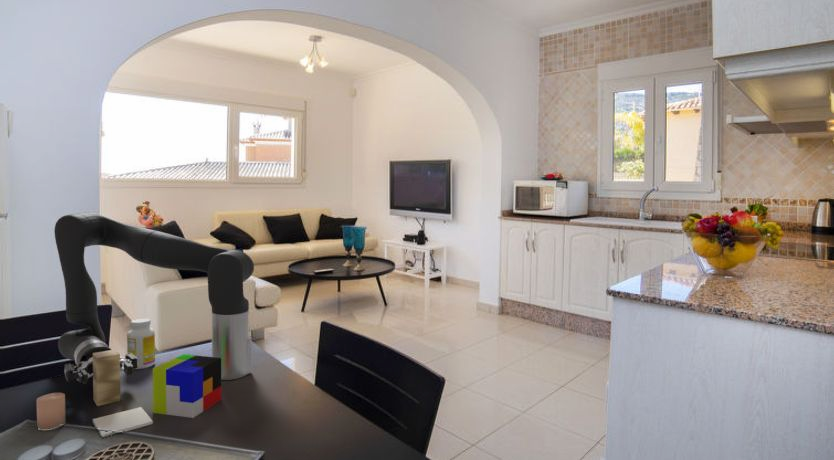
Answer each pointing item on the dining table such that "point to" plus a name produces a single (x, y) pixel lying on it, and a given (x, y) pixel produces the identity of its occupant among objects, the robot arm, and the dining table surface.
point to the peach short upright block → (50, 410)
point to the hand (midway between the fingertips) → (108, 374)
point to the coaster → (123, 421)
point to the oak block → (106, 377)
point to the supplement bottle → (142, 342)
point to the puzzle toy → (186, 385)
